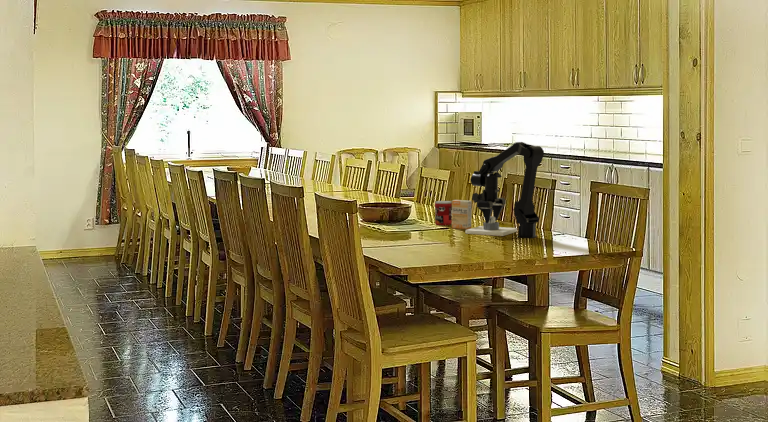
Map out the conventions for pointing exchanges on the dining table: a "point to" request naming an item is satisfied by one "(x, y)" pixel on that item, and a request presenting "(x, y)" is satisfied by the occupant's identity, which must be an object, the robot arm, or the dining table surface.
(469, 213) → the supplement box
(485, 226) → the gunmetal ring
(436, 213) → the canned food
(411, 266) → the dining table surface
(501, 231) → the base plate
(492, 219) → the steel pin
